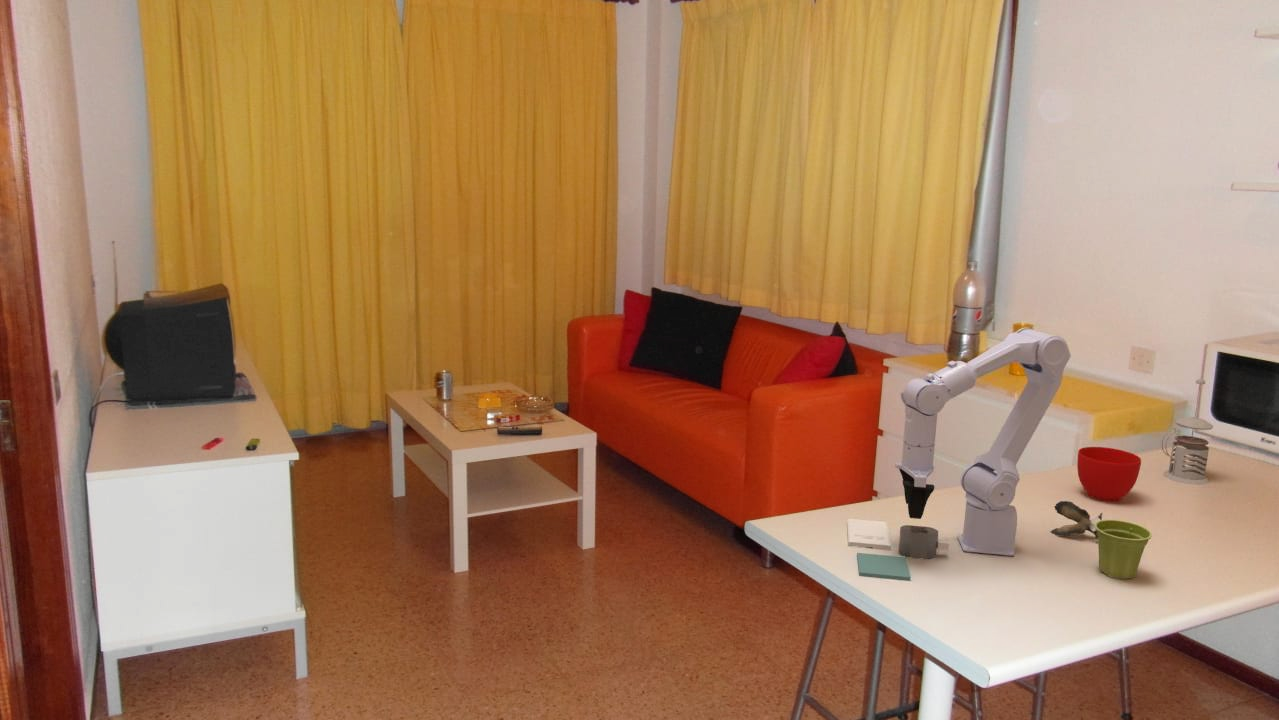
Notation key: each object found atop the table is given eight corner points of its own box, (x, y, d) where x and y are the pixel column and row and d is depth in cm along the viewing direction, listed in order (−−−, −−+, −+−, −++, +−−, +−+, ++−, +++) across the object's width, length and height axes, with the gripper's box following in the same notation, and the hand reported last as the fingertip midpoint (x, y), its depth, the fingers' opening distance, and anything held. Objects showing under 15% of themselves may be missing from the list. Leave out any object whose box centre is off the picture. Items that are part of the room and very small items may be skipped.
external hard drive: (887, 529, 192) (890, 552, 180) (846, 525, 193) (847, 548, 181) (887, 521, 191) (891, 545, 179) (847, 518, 193) (848, 541, 181)
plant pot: (1143, 588, 165) (1150, 543, 164) (1086, 575, 170) (1091, 531, 168) (1147, 570, 173) (1153, 526, 171) (1092, 558, 178) (1097, 515, 176)
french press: (1217, 484, 223) (1234, 384, 217) (1169, 483, 223) (1184, 382, 218) (1194, 471, 232) (1209, 374, 227) (1148, 470, 232) (1162, 373, 227)
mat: (905, 560, 175) (905, 557, 175) (910, 580, 166) (910, 577, 166) (856, 555, 177) (857, 552, 176) (859, 575, 168) (859, 572, 168)
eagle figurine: (1095, 523, 193) (1050, 510, 195) (1108, 504, 187) (1062, 491, 190) (1093, 553, 188) (1047, 539, 190) (1106, 534, 183) (1059, 520, 185)
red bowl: (1139, 489, 218) (1145, 449, 216) (1132, 511, 204) (1138, 467, 202) (1079, 478, 225) (1084, 439, 222) (1069, 498, 211) (1074, 456, 208)
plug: (899, 556, 177) (901, 532, 176) (897, 548, 181) (899, 524, 179) (948, 561, 175) (950, 536, 174) (945, 552, 179) (947, 528, 178)
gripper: (894, 430, 182) (889, 495, 185) (900, 452, 168) (894, 522, 171) (931, 433, 181) (925, 498, 184) (940, 455, 167) (934, 526, 170)
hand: (913, 510), depth 177 cm, fingers open, 7 cm apart
